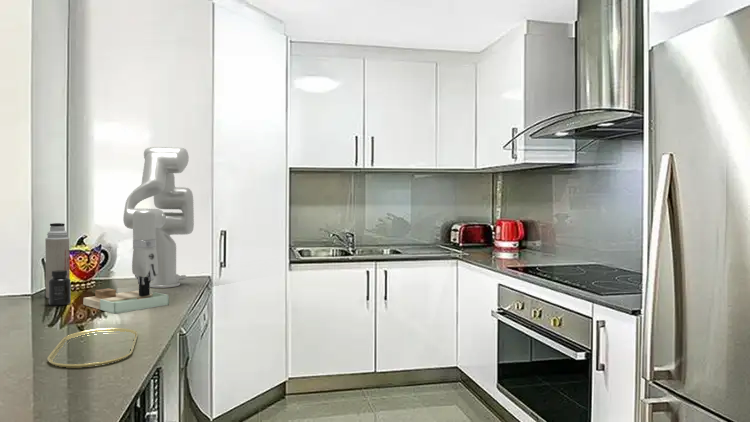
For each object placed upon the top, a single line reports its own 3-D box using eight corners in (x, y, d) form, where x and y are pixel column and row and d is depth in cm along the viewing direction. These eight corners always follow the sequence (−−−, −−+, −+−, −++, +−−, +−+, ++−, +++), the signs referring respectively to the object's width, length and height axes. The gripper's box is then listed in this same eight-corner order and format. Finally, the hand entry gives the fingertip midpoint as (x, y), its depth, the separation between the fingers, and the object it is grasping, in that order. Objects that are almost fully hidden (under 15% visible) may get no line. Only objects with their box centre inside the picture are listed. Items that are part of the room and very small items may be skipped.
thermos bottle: (73, 294, 219) (73, 222, 218) (62, 298, 211) (61, 224, 210) (53, 294, 219) (53, 222, 218) (41, 298, 211) (40, 223, 210)
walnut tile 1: (157, 297, 200) (157, 304, 200) (150, 296, 203) (150, 302, 203) (144, 299, 196) (144, 307, 196) (136, 298, 199) (136, 304, 199)
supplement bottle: (74, 302, 204) (74, 269, 203) (62, 306, 197) (62, 272, 196) (57, 302, 204) (56, 269, 204) (44, 305, 198) (44, 271, 197)
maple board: (136, 297, 216) (136, 290, 216) (153, 301, 209) (153, 294, 209) (83, 304, 200) (83, 297, 200) (99, 309, 193) (99, 302, 193)
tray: (154, 301, 208) (154, 291, 208) (168, 304, 203) (168, 295, 202) (100, 309, 193) (100, 299, 193) (114, 313, 187) (114, 303, 187)
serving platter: (140, 331, 166) (140, 326, 166) (129, 367, 133) (129, 360, 133) (68, 336, 160) (68, 330, 160) (39, 374, 127) (39, 367, 127)
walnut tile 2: (108, 295, 206) (108, 288, 206) (115, 296, 203) (115, 289, 203) (95, 296, 202) (95, 290, 202) (102, 298, 199) (102, 291, 199)
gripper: (165, 245, 199) (165, 296, 200) (143, 242, 208) (142, 291, 209) (145, 246, 193) (145, 299, 194) (123, 243, 202) (123, 294, 203)
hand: (144, 295), depth 201 cm, fingers closed
